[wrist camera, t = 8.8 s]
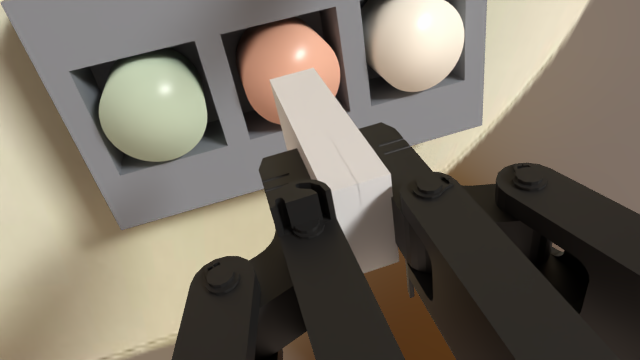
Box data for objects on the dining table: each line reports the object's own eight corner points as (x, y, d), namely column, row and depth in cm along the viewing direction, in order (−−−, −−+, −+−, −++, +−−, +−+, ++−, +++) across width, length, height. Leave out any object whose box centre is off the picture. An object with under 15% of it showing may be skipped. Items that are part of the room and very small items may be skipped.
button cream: (349, -4, 31) (372, 10, 27) (431, -24, 32) (465, -13, 28) (359, 79, 34) (381, 101, 31) (433, 59, 35) (463, 79, 32)
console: (25, -15, 27) (0, 2, 23) (448, -106, 31) (490, -105, 27) (126, 191, 36) (121, 230, 31) (449, 100, 39) (482, 125, 35)
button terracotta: (225, 26, 30) (232, 44, 26) (313, 4, 31) (332, 19, 27) (248, 109, 33) (257, 136, 30) (327, 88, 34) (346, 111, 31)
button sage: (91, 58, 29) (79, 82, 25) (186, 35, 30) (189, 55, 26) (128, 141, 32) (123, 173, 29) (213, 118, 33) (219, 146, 29)
